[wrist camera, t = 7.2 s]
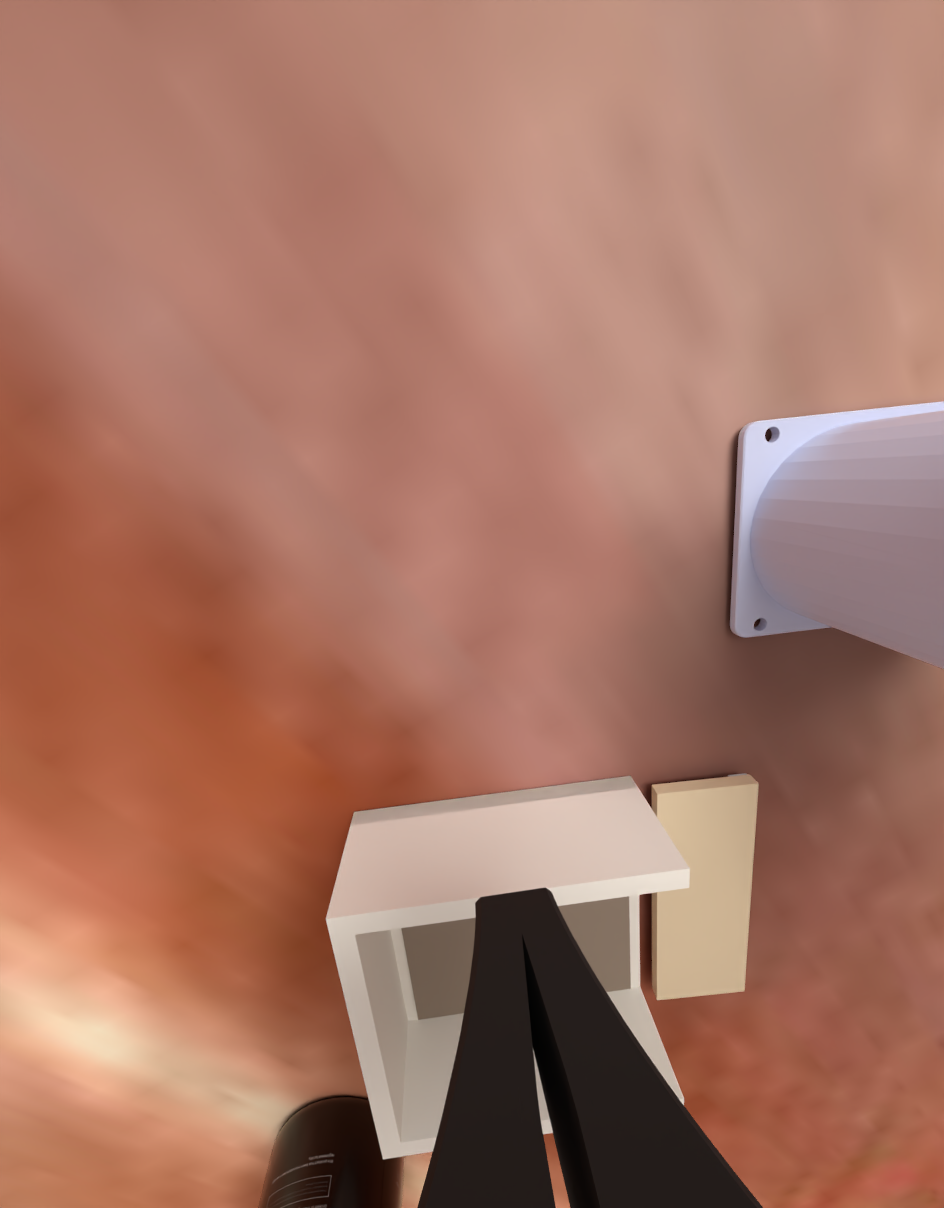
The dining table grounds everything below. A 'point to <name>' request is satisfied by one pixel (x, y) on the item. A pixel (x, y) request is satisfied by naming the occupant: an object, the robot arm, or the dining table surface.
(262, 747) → the dining table surface
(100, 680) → the dining table surface
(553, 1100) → the robot arm
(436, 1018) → the carton
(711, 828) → the flap
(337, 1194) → the supplement bottle
